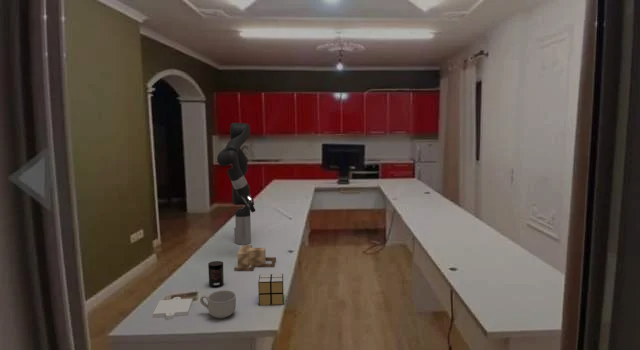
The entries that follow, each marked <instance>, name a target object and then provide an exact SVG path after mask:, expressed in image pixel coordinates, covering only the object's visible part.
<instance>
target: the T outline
mask: <svg viewBox="0 0 640 350" xmlns="http://www.w3.org/2000/svg"><path fill="white" fill-rule="evenodd" d="M266 262H270V263H265V264H252V265H250V266H249V267H238V266H235V267H234V268H233V271H234V272H254V270H255V268H275V266H276V262H277V257H276V256H274V257H273V256H272V257H271V256H269V257H268V256H267V257H266Z"/></svg>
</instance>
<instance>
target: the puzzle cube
mask: <svg viewBox="0 0 640 350" xmlns="http://www.w3.org/2000/svg"><path fill="white" fill-rule="evenodd" d="M258 276H259V277H258V283H257V284H258V306H281V305H282V306H283V305H284V301H285V300H284V273H282V272H280V273H279V272H278V273H272V274H271V273H260V274H259V275H258Z"/></svg>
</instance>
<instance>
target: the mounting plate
mask: <svg viewBox="0 0 640 350" xmlns="http://www.w3.org/2000/svg"><path fill="white" fill-rule="evenodd" d="M193 300H194V299H193V298H181V296H176V297H173V298H172V299H162V300H159V301H158V303H157V306H156V307H155V309H154V311H153V313H152V318H153V319H154V318H165V319H166V320H174V319H175V318H176V317H181V316H182V317H184V316H189V314H190V312H191V308H192V305H193Z"/></svg>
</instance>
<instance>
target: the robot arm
mask: <svg viewBox="0 0 640 350" xmlns="http://www.w3.org/2000/svg"><path fill="white" fill-rule="evenodd" d="M229 133H230V134H229V135H230V140H229V141H228V142H227V144H226V146H225V147H224V148H223V149H222V150H221V151H220V152H219V153H218V154H217V157H216V158H217V159H216V160H217V164H218V165H219V166H221V167H226V166H230V165H231V166H230V168H228V169H227V175H228V178H229V179H230V181H231V184H232V191H231V192H232V203H233V205H235V206H242V205H243V207H242V208H239V209H238V210H235V212H234V216H235V217H234V218H235V219H234V220H235V226H234V228H233V230H234V234H233V235H234V243H235V244H237V245H250V244H251V243H252V231H251V230H252V227H251V226H252V225H251V224H252V223H251V222H252V221H251V213H252V214H253V213H254V212H256V208H255V200H254V198H252V195H251V192H250V191H251V187H250V185H249V184H248V181H247V178H246V177H245V176H246V174H247V173H248V171H249V168H248V167H249V166H248V158H247V156H246V154H245V153H244V152H243V150H242V149H241V147H242V146H243V145H244V144H245V142H247V140H248V139H249V138H250V134H251V126H250V124H248V123H245V122H232V123H231V124H230V127H229Z"/></svg>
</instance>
